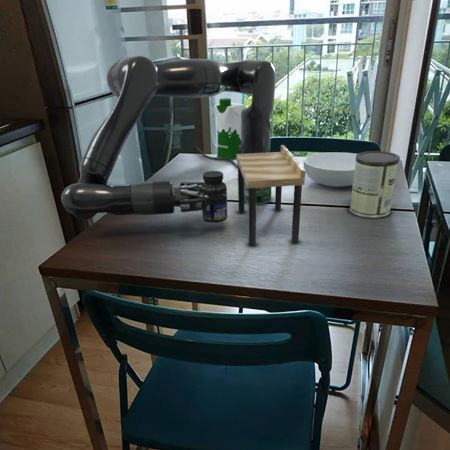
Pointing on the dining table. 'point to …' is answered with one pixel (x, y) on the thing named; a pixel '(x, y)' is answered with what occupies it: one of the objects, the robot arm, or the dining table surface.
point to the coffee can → (373, 183)
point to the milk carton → (228, 128)
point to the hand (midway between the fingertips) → (224, 194)
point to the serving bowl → (331, 168)
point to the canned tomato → (258, 194)
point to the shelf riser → (270, 184)
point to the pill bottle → (214, 187)
